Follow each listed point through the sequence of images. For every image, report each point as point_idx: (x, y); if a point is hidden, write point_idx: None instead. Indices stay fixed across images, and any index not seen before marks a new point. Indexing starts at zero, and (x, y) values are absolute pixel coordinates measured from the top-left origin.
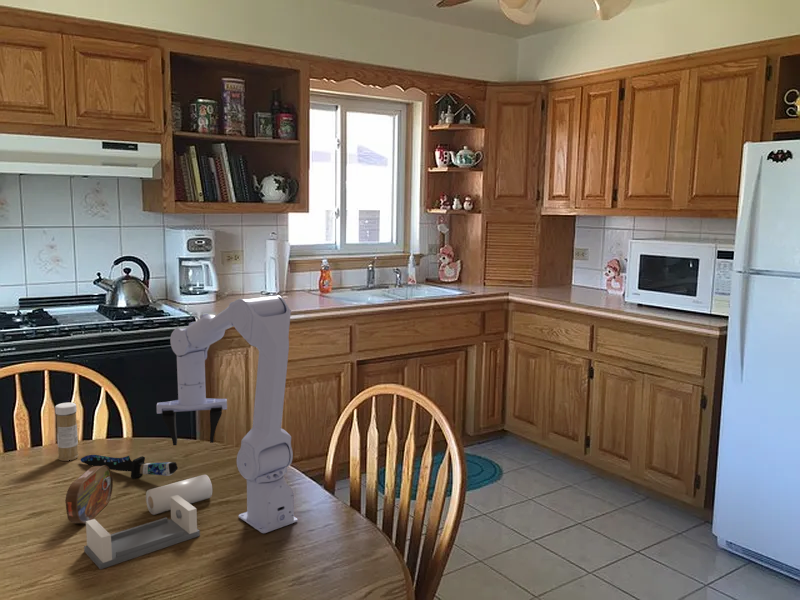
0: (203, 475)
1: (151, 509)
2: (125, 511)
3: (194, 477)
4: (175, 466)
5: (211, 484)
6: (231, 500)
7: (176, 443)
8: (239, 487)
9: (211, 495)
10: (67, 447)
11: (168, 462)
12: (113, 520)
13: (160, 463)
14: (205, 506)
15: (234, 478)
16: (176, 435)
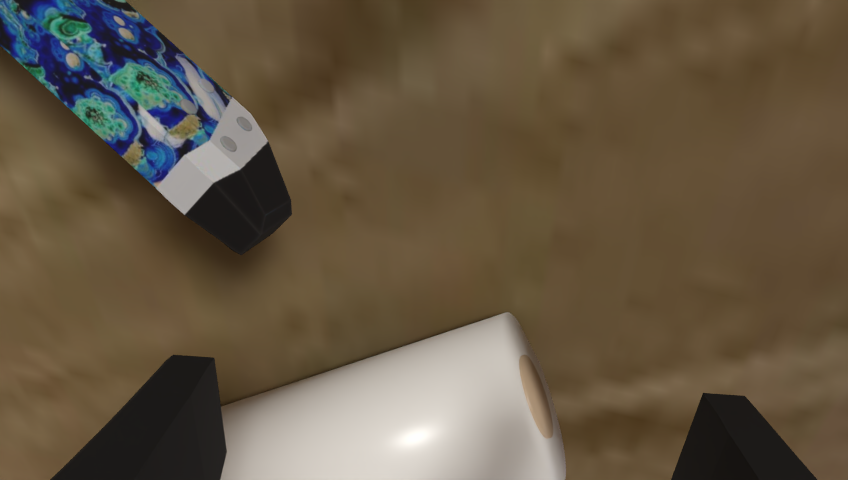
0: (518, 467)
1: None
2: (50, 389)
3: (447, 476)
4: (266, 235)
5: (564, 475)
6: (667, 418)
7: (219, 464)
8: (781, 266)
9: (553, 409)
10: None
11: (173, 155)
12: (26, 458)
13: (80, 95)
14: None
15: (809, 88)
16: (176, 471)
